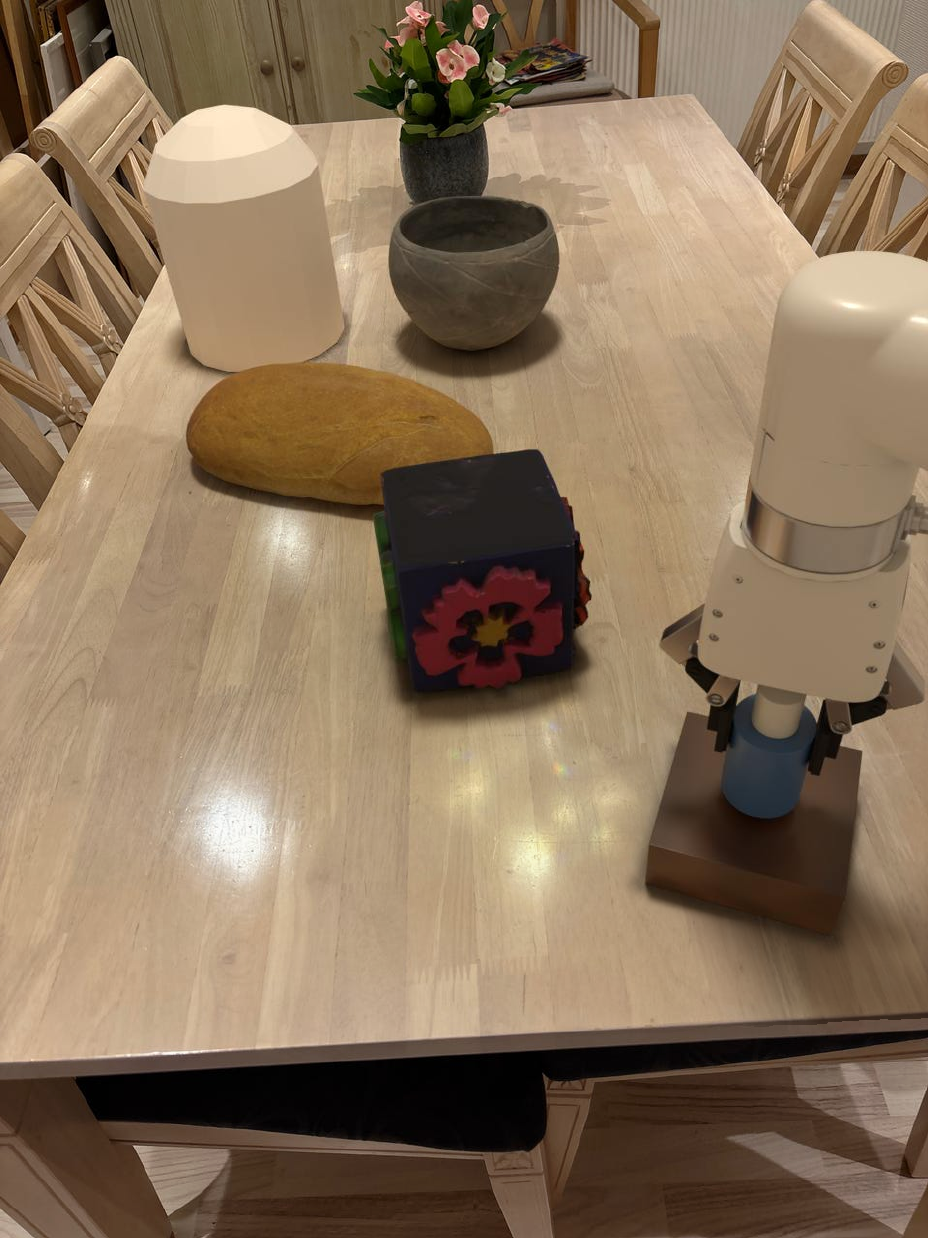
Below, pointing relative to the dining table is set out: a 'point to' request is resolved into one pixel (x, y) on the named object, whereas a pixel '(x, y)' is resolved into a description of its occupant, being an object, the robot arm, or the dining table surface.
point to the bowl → (473, 268)
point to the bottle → (768, 752)
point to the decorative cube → (480, 570)
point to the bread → (326, 430)
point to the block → (755, 838)
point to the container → (244, 239)
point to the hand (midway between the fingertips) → (769, 744)
